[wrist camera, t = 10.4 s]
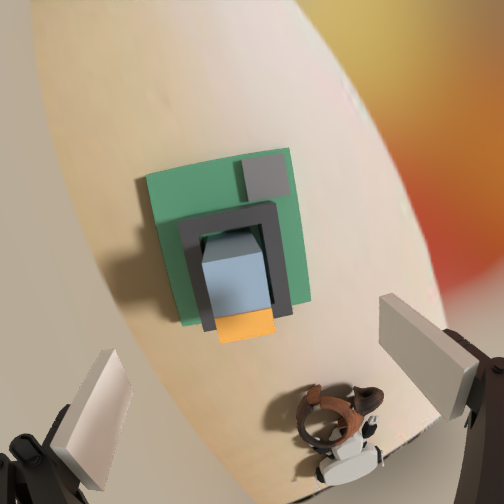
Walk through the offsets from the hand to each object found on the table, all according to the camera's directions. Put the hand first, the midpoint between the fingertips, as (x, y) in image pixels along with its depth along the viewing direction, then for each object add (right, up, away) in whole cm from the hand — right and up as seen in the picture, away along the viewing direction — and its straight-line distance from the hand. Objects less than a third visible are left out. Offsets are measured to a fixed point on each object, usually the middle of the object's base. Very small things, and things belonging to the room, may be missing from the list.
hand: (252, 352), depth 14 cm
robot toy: (+15, -27, +28) cm, 42 cm away
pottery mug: (+12, -16, +24) cm, 31 cm away
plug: (-2, +4, +16) cm, 17 cm away
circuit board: (-2, +6, +17) cm, 18 cm away
